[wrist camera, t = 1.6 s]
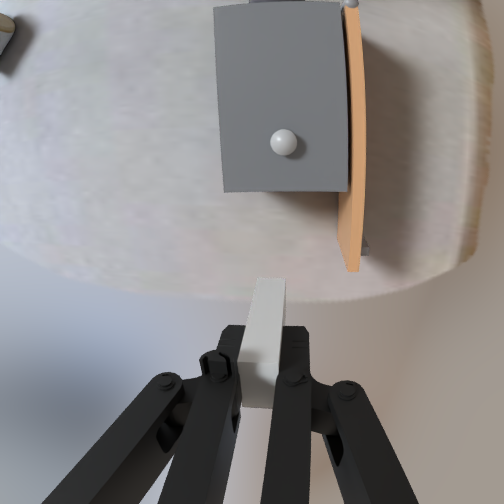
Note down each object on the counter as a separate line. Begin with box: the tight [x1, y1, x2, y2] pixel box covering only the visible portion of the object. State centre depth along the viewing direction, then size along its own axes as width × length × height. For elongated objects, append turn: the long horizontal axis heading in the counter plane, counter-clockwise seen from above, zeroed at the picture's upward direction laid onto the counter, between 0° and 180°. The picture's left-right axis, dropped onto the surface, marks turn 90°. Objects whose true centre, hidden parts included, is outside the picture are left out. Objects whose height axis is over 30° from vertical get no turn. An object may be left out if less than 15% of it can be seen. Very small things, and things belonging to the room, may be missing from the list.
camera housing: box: [213, 0, 348, 193], centre depth 25 cm, size 18×10×9 cm, turn 3°
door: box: [337, 0, 369, 272], centre depth 25 cm, size 24×2×8 cm, turn 3°
